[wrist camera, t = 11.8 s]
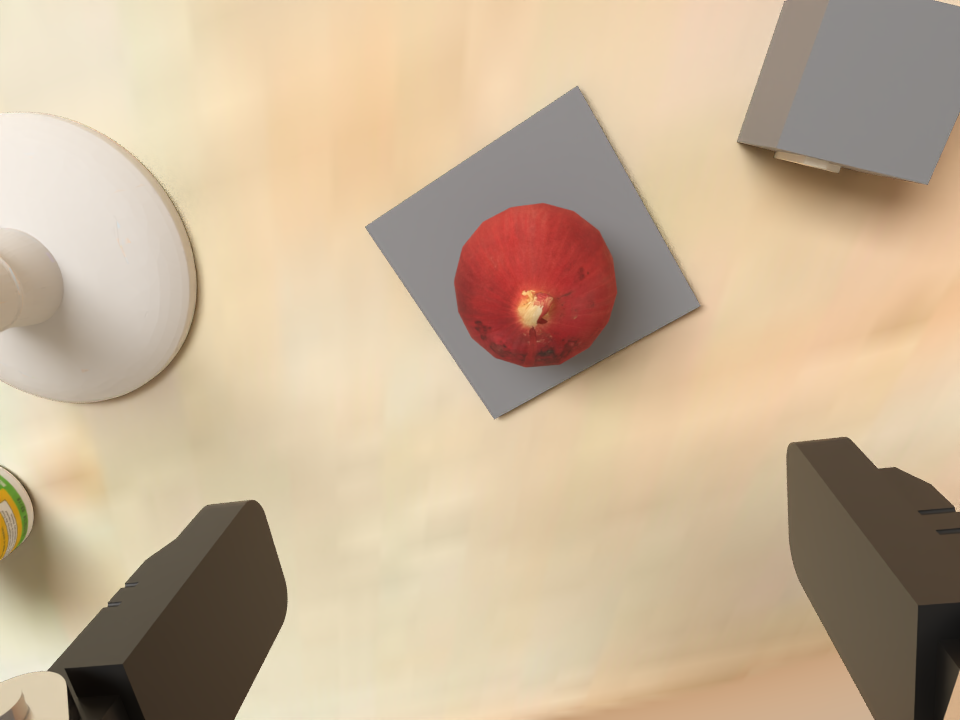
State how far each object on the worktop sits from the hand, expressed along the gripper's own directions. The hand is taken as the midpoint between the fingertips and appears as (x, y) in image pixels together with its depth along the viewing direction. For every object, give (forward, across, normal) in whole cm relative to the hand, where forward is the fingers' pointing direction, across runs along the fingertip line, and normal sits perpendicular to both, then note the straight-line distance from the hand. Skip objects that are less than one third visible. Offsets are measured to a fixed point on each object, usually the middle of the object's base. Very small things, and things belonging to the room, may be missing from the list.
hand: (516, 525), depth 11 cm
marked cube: (+20, -12, -5) cm, 24 cm away
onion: (+20, 0, 0) cm, 20 cm away
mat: (+20, 0, 0) cm, 20 cm away
